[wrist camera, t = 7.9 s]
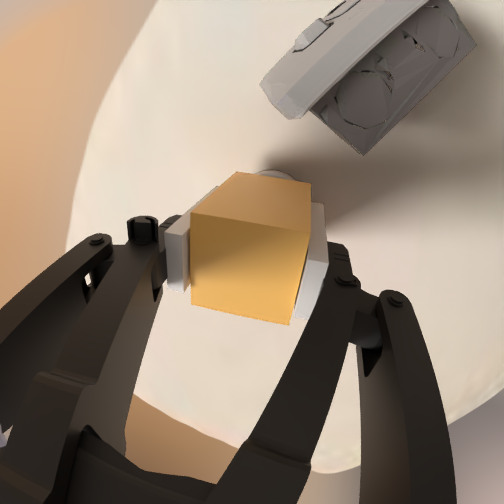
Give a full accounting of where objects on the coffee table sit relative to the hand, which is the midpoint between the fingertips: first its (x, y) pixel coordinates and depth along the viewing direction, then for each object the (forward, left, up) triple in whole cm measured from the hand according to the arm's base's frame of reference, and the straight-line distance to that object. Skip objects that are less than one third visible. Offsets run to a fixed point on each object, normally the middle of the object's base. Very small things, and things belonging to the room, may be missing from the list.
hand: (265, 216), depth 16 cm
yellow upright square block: (0, 0, -1) cm, 1 cm away
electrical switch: (-6, -8, -3) cm, 11 cm away
